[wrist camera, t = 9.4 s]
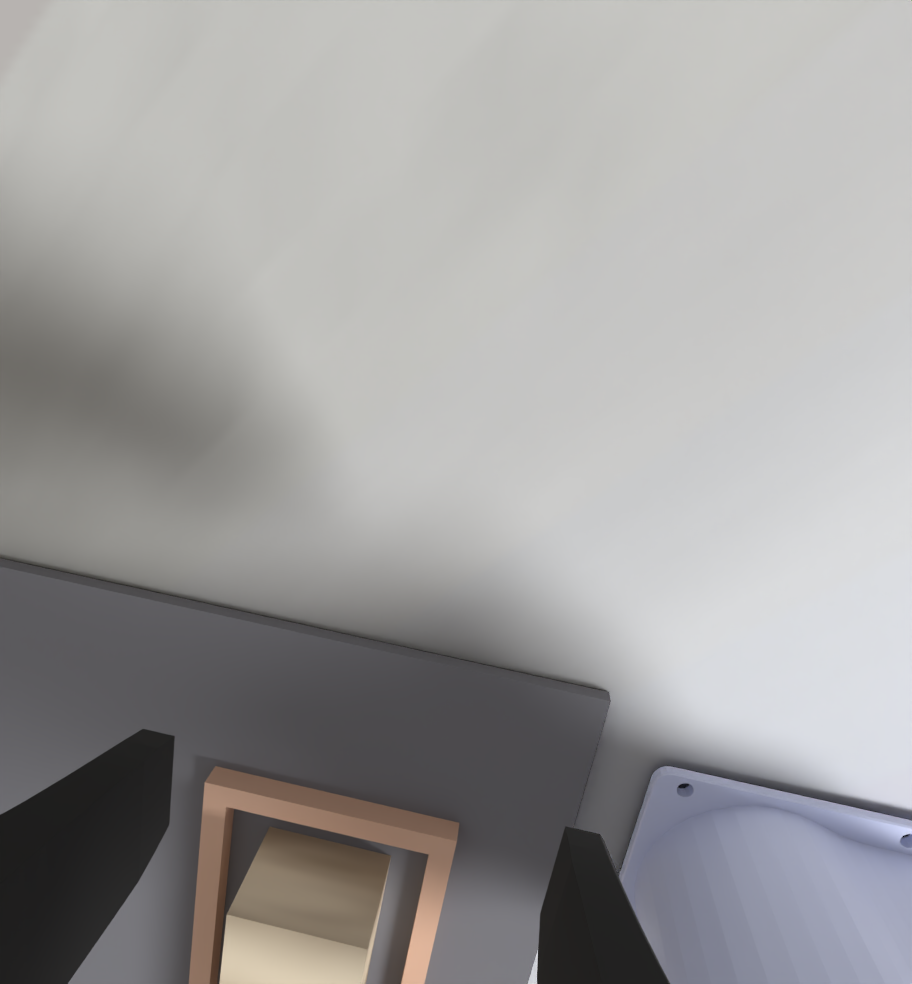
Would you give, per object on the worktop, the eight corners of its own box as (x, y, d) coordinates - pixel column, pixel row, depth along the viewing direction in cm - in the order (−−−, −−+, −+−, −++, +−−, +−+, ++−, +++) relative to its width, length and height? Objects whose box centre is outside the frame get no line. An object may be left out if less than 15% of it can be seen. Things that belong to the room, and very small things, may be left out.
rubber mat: (608, 692, 21) (610, 701, 21) (487, 1107, 27) (486, 1122, 27) (-102, 535, 23) (-116, 541, 22) (-67, 967, 29) (-77, 978, 28)
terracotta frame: (459, 822, 23) (456, 841, 22) (396, 1098, 27) (392, 1122, 26) (215, 766, 23) (204, 782, 22) (191, 1046, 28) (182, 1068, 27)
